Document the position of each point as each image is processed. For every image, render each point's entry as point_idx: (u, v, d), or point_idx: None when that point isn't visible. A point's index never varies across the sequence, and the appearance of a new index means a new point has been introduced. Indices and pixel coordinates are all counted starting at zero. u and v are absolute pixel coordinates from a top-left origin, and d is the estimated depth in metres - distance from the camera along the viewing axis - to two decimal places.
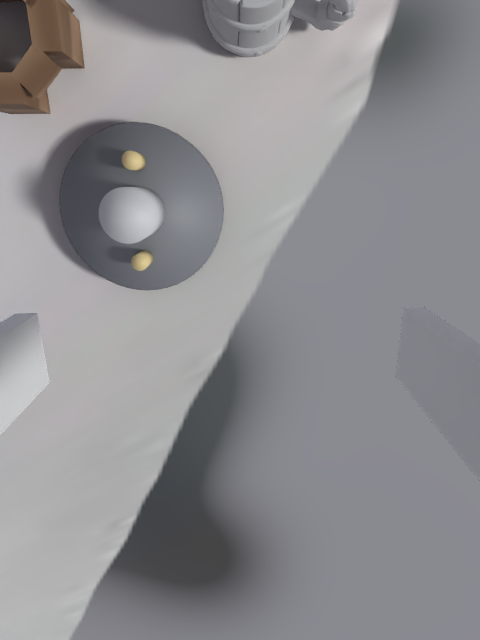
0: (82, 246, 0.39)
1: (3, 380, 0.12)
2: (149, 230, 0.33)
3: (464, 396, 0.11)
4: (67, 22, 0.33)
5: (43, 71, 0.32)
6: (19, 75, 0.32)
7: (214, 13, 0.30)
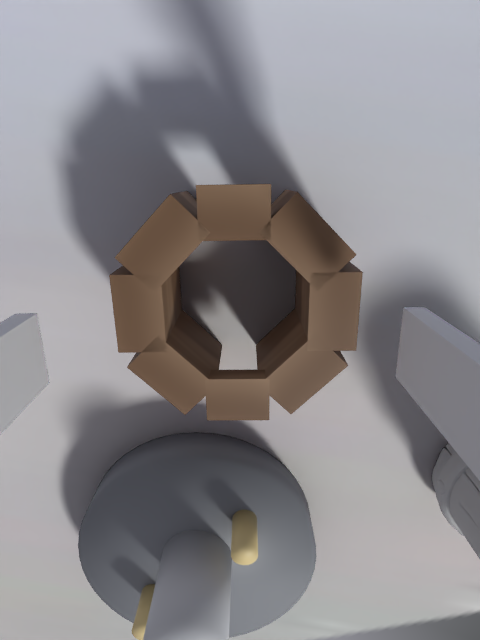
0: (92, 533, 0.25)
1: (3, 380, 0.12)
2: None
3: (464, 396, 0.11)
4: None
5: (247, 411, 0.20)
6: (213, 389, 0.19)
7: None
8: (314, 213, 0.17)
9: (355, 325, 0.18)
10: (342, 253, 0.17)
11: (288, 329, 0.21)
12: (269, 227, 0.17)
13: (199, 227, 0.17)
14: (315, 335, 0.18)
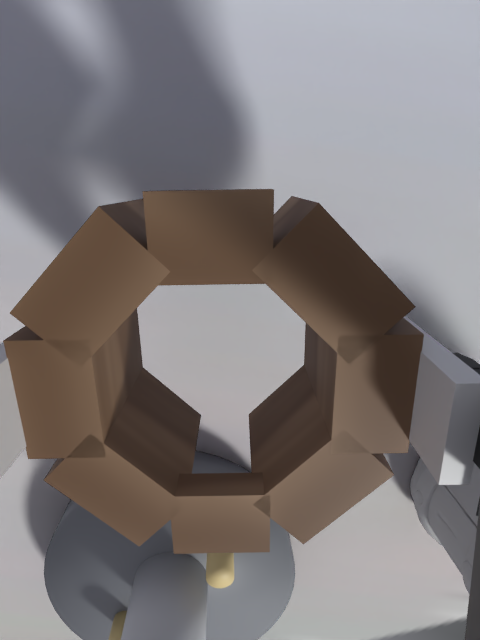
0: (59, 561, 0.24)
1: None
2: None
3: None
4: None
5: (235, 540, 0.13)
6: (183, 510, 0.12)
7: (468, 571, 0.20)
8: (347, 239, 0.10)
9: (408, 416, 0.11)
10: (392, 304, 0.10)
11: (297, 403, 0.15)
12: (270, 262, 0.10)
13: (151, 263, 0.10)
14: (344, 431, 0.11)
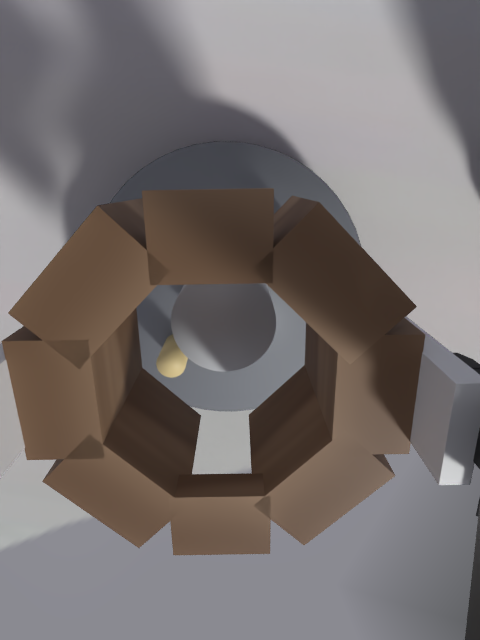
0: None
1: None
2: (237, 367, 0.18)
3: None
4: None
5: (235, 542, 0.13)
6: (182, 511, 0.12)
7: None
8: (348, 238, 0.10)
9: (409, 417, 0.11)
10: (393, 304, 0.10)
11: (297, 403, 0.14)
12: (270, 262, 0.10)
13: (150, 262, 0.10)
14: (344, 431, 0.11)
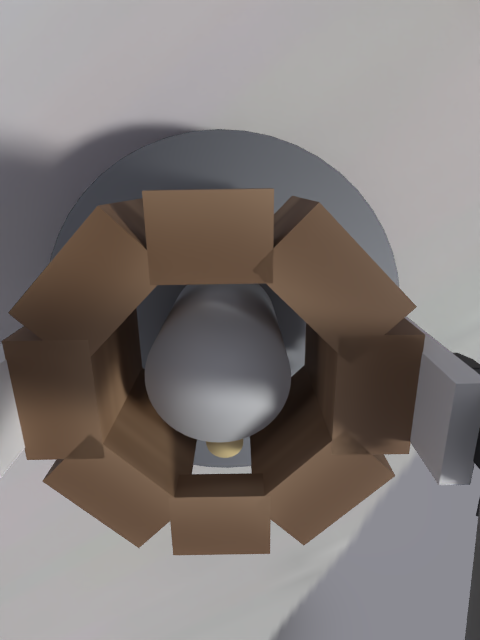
0: None
1: None
2: (275, 412, 0.13)
3: None
4: None
5: (235, 542, 0.13)
6: (182, 511, 0.12)
7: None
8: (348, 239, 0.10)
9: (409, 417, 0.11)
10: (393, 304, 0.10)
11: (297, 403, 0.14)
12: (270, 262, 0.10)
13: (150, 262, 0.10)
14: (344, 431, 0.11)
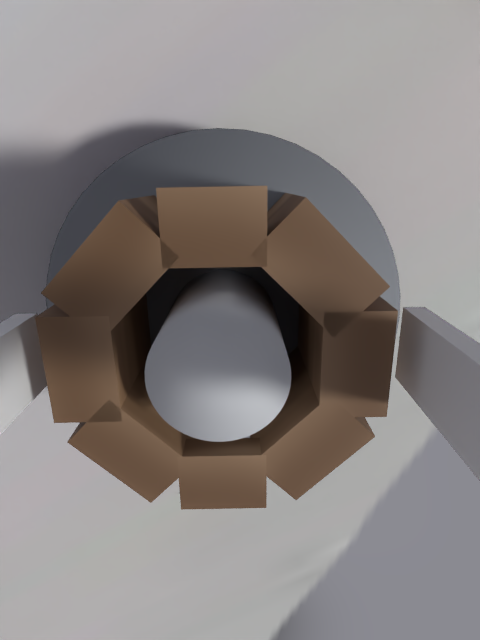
0: None
1: (3, 380, 0.12)
2: (275, 411, 0.13)
3: (464, 396, 0.11)
4: None
5: (236, 497, 0.14)
6: (189, 469, 0.14)
7: None
8: (330, 228, 0.11)
9: (386, 384, 0.13)
10: (370, 285, 0.12)
11: None
12: (265, 248, 0.12)
13: (163, 249, 0.12)
14: (329, 397, 0.13)
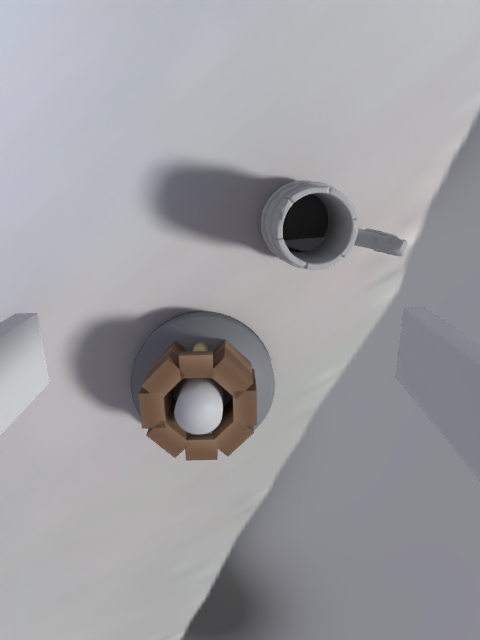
0: None
1: (3, 380, 0.12)
2: (217, 423, 0.38)
3: (464, 396, 0.11)
4: None
5: (205, 455, 0.39)
6: (189, 445, 0.39)
7: (278, 256, 0.35)
8: (232, 366, 0.37)
9: (255, 414, 0.38)
10: (246, 382, 0.37)
11: (228, 411, 0.41)
12: (212, 372, 0.37)
13: (180, 372, 0.37)
14: (237, 418, 0.38)
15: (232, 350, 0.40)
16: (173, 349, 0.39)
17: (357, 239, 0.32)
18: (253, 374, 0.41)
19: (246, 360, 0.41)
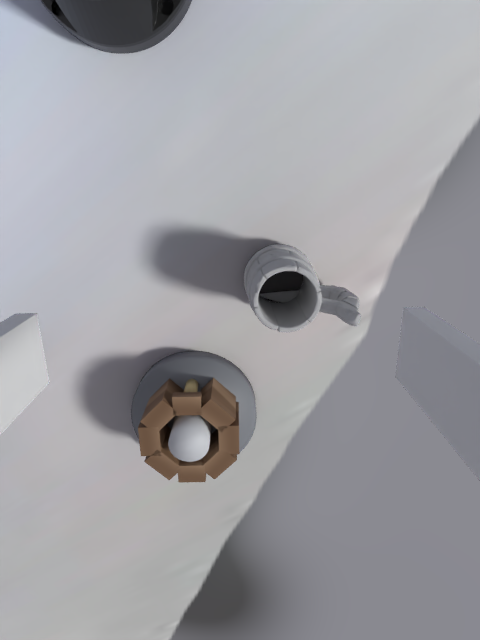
0: None
1: (3, 380, 0.12)
2: (205, 453, 0.44)
3: (464, 396, 0.11)
4: None
5: (195, 478, 0.46)
6: (181, 469, 0.46)
7: (256, 315, 0.41)
8: (217, 406, 0.43)
9: (238, 445, 0.45)
10: (230, 419, 0.44)
11: (215, 439, 0.48)
12: (200, 410, 0.43)
13: (173, 411, 0.43)
14: (222, 448, 0.45)
15: (219, 388, 0.47)
16: (167, 388, 0.46)
17: (321, 307, 0.38)
18: (237, 408, 0.47)
19: (231, 395, 0.48)
